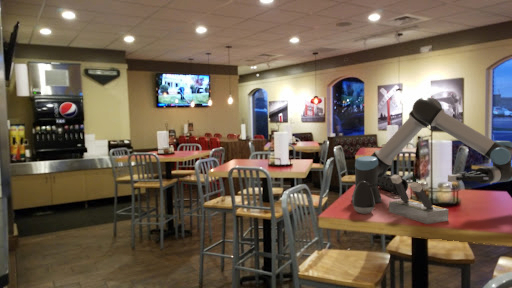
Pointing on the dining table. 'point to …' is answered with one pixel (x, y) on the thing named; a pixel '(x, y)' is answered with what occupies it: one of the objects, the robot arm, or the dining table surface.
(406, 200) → the lever
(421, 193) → the lever
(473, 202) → the dining table surface
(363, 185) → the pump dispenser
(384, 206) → the dining table surface
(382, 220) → the dining table surface
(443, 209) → the switch panel
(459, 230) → the dining table surface
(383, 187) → the muzzle brake
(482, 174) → the robot arm
